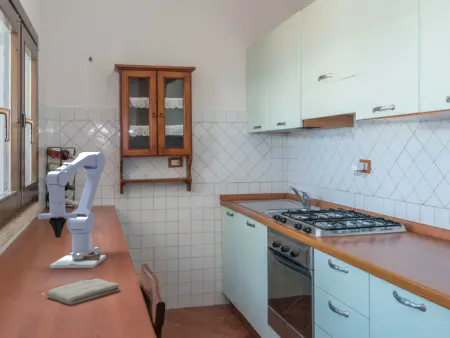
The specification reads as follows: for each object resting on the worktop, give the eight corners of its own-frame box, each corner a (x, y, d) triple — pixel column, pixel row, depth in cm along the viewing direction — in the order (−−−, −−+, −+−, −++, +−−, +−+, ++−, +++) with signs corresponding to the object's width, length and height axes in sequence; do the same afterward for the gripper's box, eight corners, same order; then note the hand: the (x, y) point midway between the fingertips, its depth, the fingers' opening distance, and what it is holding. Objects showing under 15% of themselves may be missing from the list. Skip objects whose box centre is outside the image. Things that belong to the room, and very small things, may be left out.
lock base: (66, 258, 184) (66, 255, 184) (106, 257, 183) (105, 254, 183) (49, 268, 168) (49, 264, 168) (93, 267, 167) (93, 264, 167)
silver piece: (70, 260, 173) (70, 249, 173) (74, 257, 178) (74, 246, 178) (98, 259, 173) (98, 248, 173) (102, 256, 178) (102, 246, 178)
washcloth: (122, 291, 139) (121, 281, 139) (69, 307, 125) (69, 296, 125) (98, 285, 146) (97, 275, 146) (46, 299, 132) (45, 289, 132)
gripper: (34, 203, 174) (35, 239, 175) (72, 203, 174) (73, 238, 174) (42, 201, 181) (43, 236, 182) (78, 201, 181) (79, 235, 181)
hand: (58, 237), depth 178 cm, fingers closed
